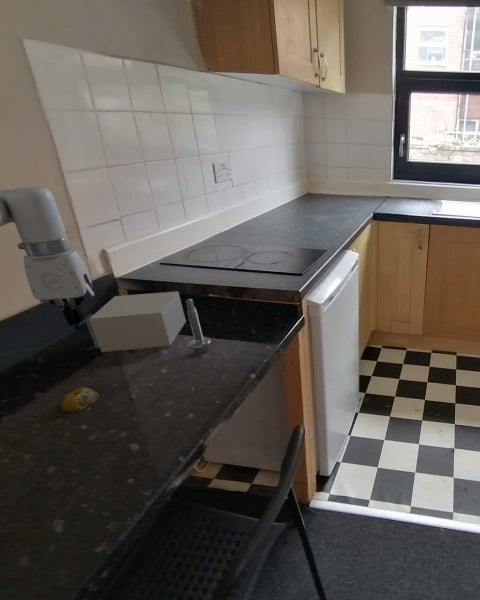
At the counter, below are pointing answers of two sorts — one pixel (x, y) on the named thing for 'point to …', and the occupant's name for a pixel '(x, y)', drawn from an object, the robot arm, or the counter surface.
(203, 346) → the screw
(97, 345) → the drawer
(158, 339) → the pale grey box
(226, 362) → the counter surface
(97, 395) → the fruit
